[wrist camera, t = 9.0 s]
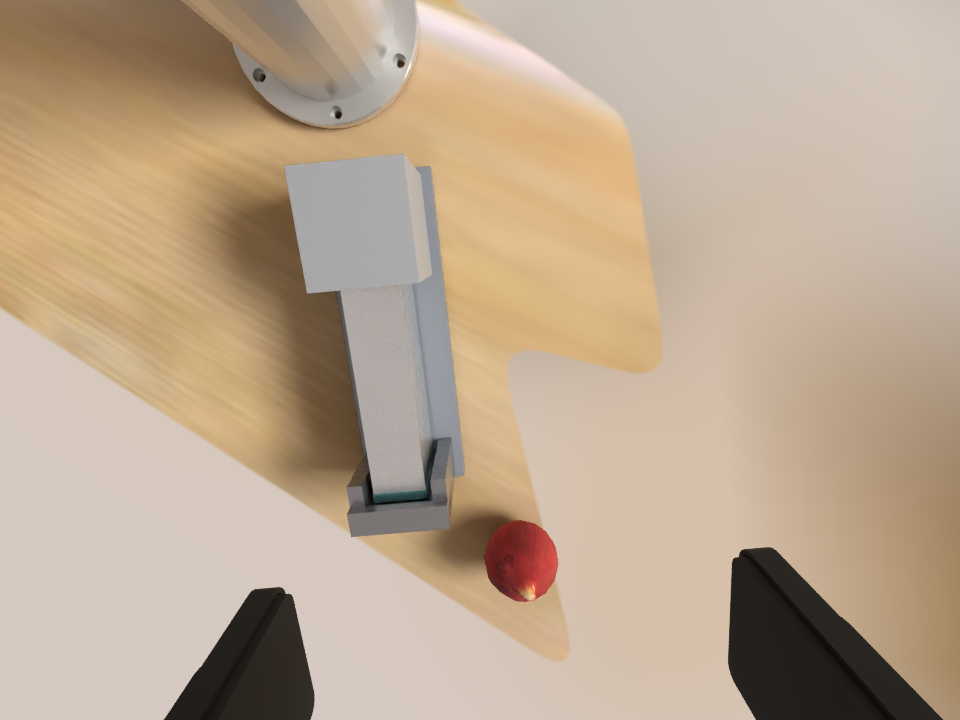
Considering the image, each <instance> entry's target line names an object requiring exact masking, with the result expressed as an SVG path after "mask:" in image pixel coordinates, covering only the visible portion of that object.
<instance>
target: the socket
mask: <svg viewBox="0 0 960 720" xmlns="http://www.w3.org/2000/svg"><path fill="white" fill-rule="evenodd" d="M454 478H455V464H454V456H453V447H452V438H451V437H446V438H439V441H438V445H437V450H436V455H435V460H434V465H433V469H432V474H431V479H430V482H431V484H430V489H429V493H428V498H426V499H414V500H403V501H391V502H379V503H374V499H373V487H372V481H371V475H370V469H369V463H368V457H367V451H366V453H365V455H364V457H363V459H362V461H361V462H360V464H359V466H358V468H357V470H356V472H355V473H354V475H353V477H352V479H351V481H350V483H349V484H348V486H347V492H348V497H349V503H350V509H349V511H348V513H347V516H348V522H349V527H350V533H351V537H356V536H368V535H380V534H392V533H404V532H416V531H427V530H439V529H450V516H451V506H452V497H453V487H454Z"/></svg>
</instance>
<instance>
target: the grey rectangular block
mask: <svg viewBox="0 0 960 720" xmlns="http://www.w3.org/2000/svg"><path fill="white" fill-rule="evenodd" d="M340 292H341V299H342V305H343V311H344V317H345V323H346V329H347V335H348V341H349V347H350V353H351V359H352V365H353V372H354V378H355V384H356V390H357V396H358V402H359V408H360V414H361V420H362V426H363V432H364V438H365V445H366V451H367V457H368V463H369V469H370V475H371V481H372V487H373V499H374V503H379V502H391V501H403V500H414V499H426V498H428V493H429V489H430V484H431V482H430V479H431V474H432V469H433V465H434V460H435V452H434V448H433V440H432V432H431V424H430V416H429V408H428V401H427V393H426V385H425V377H424V369H423V361H422V353H421V346H420V338H419V330H418V322H417V314H416V306H415V298H414V291H413V284H402V285H392V286H382V287H371V288H361V289H350V290H340Z"/></svg>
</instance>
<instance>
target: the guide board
mask: <svg viewBox="0 0 960 720" xmlns="http://www.w3.org/2000/svg"><path fill="white" fill-rule="evenodd" d="M284 169H285V175H286V180H287V186H288V191H289V197H290V202H291V208H292V213H293V219H294V224H295V230H296V235H297V241H298V246H299V252H300V257H301V263H302V268H303V274H304V279H305V285H306V290H307V294H308V293H319V292H329V291H336V292H337V298H338V304H339V310H340V316H341V322H342V328H343V334H344V340H345V346H346V352H347V358H348V364H349V370H350V376H351V382H352V388H353V394H354V400H355V406H356V412H357V418H358V424H359V431H360V437H361V443H362V449H363V455H365V453H366V445H365V438H364V432H363V426H362V420H361V414H360V408H359V402H358V396H357V390H356V384H355V378H354V372H353V365H352V359H351V353H350V347H349V341H348V335H347V329H346V323H345V317H344V311H343V305H342V299H341V292H340V290H350V289H361V288H371V287H382V286H392V285H402V284H413V291H414V298H415V306H416V314H417V322H418V330H419V338H420V346H421V353H422V361H423V369H424V377H425V385H426V393H427V401H428V408H429V416H430V424H431V432H432V440H433V448H434V452H435V455H436V450H437V445H438V441H439V438H446V437H451V438H452V447H453V456H454V464H455V476H464V473H465V466H464V457H463V448H462V439H461V430H460V421H459V412H458V403H457V394H456V385H455V376H454V367H453V358H452V350H451V341H450V332H449V323H448V314H447V305H446V296H445V287H444V278H443V269H442V260H441V251H440V242H439V233H438V224H437V215H436V206H435V197H434V188H433V179H432V170H431V167H430V166H425V167H414V166H413V165H412V164H411V162H410V161H409V160H408V159H407V158H406V156H405V155H404V154H397V155H387V156H377V157H367V158H357V159H347V160H338V161H328V162H318V163H308V164H298V165H288V166H284Z"/></svg>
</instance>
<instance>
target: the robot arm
mask: <svg viewBox="0 0 960 720" xmlns="http://www.w3.org/2000/svg"><path fill="white" fill-rule="evenodd" d="M181 1H182V2H183V3H184V4H186V5H187V6H188V7H189V8H191V9H192V10H193V11H194V12H195V13H197V14H198V15H199V16H200V17H202V18H203V19H204V20H205V21H206V22H208V23H209V24H210V25H211V26H213V27H214V28H215V29H216V30H217V31H219V32H220V33H221V34H222V35H224V36H225V37H226V38H227V39H228V40H230V41H231V43H232V46H233V50H234V53H235V55H236V57H237V59H238V62H239V64H240V66H241V68H242V70H243V72H244V73H245V75H246V76H247V78H248V79H249V81H250V82H251V84H252V85H253V87H254V88H255V89H256V90H257V91H258V92H259V93H260V94H261V95H262V96H263V97H264V98H265V99H266V100H267V101H268V102H269V103H270V104H272V105H273V106H274V107H276V108H277V109H278V110H280V111H281V112H283V113H284V114H286V115H288V116H289V117H291V118H293V119H294V120H297V121H299V122H302V123H305V124H307V125H310V126H314V127H321V128H327V129H335V128H347V127H351V126H355V125H359V124H362V123H364V122H366V121H368V120H370V119H372V118H374V117H376V116H378V115H379V114H380V113H381V112H382V111H384V110H385V109H386V108H387V107H389V106H390V105H391V104H392V103H393V101H394V100H395V99H396V98H397V97H398V95H399V94H400V93H401V92H402V90H403V88H404V86H405V84H406V83H407V81H408V79H409V77H410V75H411V72H412V69H413V66H414V63H415V60H416V57H417V50H418V43H419V17H418V12H417V7H416V1H415V0H181ZM399 62H404V63H405V65H404V67H402V68H399V67H398V64H399ZM264 76H266V79H265V80H264V82H262V78H263V77H264ZM339 112H340V113H342V117H341V118H340V119H337V118H336V115H337V113H339ZM728 664H729V669H730V673H731V676H732V678H733V681H734V683H735V684H736V686H737V688H738V690H739V691H740V693H741V695H742V697H743V698H744V700H745V701H746V703H747V705H748V707H749V708H750V710H751V712H752V714H753V715H754V717H755V719H756V720H943V719H942V718H941V717H940V716H939V715H938V714H937V713H936V712H935V711H934V710H933V709H932V708H931V707H930V706H929V705H928V704H927V703H926V702H925V701H924V700H923V699H922V698H921V697H920V696H919V694H917V693H916V691H915V690H914V689H913V688H912V687H911V686H910V685H909V684H908V683H907V682H906V681H905V680H904V679H903V678H902V677H901V676H900V675H899V674H898V673H897V672H896V671H895V670H894V669H893V668H892V667H891V666H890V665H889V664H888V663H887V662H886V661H885V660H884V659H883V658H882V657H881V656H880V655H879V654H878V652H877V651H876V650H875V649H874V648H873V647H871V645H870V644H869V643H868V642H867V641H866V640H865V639H864V638H863V637H862V636H861V635H860V634H859V633H858V632H857V631H856V630H855V629H854V628H853V627H852V626H851V625H850V624H849V623H848V622H847V621H845V620H844V619H843V618H842V617H840V616H839V615H838V614H837V613H836V612H835V611H834V610H833V609H832V608H831V607H830V606H829V605H828V604H827V603H826V601H825V600H824V599H822V597H821V596H820V595H819V594H818V593H816V591H815V590H814V589H813V588H812V587H811V586H810V585H809V584H808V583H807V582H806V581H805V580H804V579H803V578H802V577H801V576H800V575H799V574H798V573H797V572H796V571H795V570H794V568H792V566H791V565H790V564H789V563H788V562H787V561H786V560H785V559H784V558H783V557H782V556H781V555H780V554H779V553H778V552H777V551H776V550H774V549H773V548H769V547H767V548H754V549H744V550H741V552H740V554H739V557H737V558H734V559H733V561H732V578H731V602H730V628H729V652H728ZM313 708H314V690H313V686H312V681H311V676H310V672H309V667H308V663H307V658H306V654H305V649H304V645H303V640H302V636H301V631H300V627H299V623H298V618H297V613H296V609H295V604H294V600H293V597H292V595H291V594H286V593H285V591H284V590H283V588H280V587H277V588H264V589H255V590H253V591H251V593H250V594H249V595H248V597H247V598H246V600H245V601H244V603H243V604H242V606H241V607H240V609H239V610H238V612H237V613H236V615H235V616H234V618H233V619H232V621H231V623H230V624H229V625H228V627H227V628H226V630H225V632H224V633H223V635H222V636H221V638H220V639H219V641H218V642H217V644H216V645H215V647H214V648H213V650H212V651H211V653H210V654H209V656H208V657H207V659H206V660H205V662H204V663H203V665H202V666H201V667H200V668H199V670H198V671H197V672H196V673H195V674H194V675H193V677H192V678H191V680H190V682H189V683H188V684H187V686H186V687H185V689H184V691H183V692H182V694H181V695H180V696H179V698H178V700H177V701H176V703H175V704H174V706H173V707H172V709H171V710H170V712H169V713H168V715H167V716H166V718H165V719H164V720H310V719H311V716H312V713H313Z"/></svg>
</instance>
